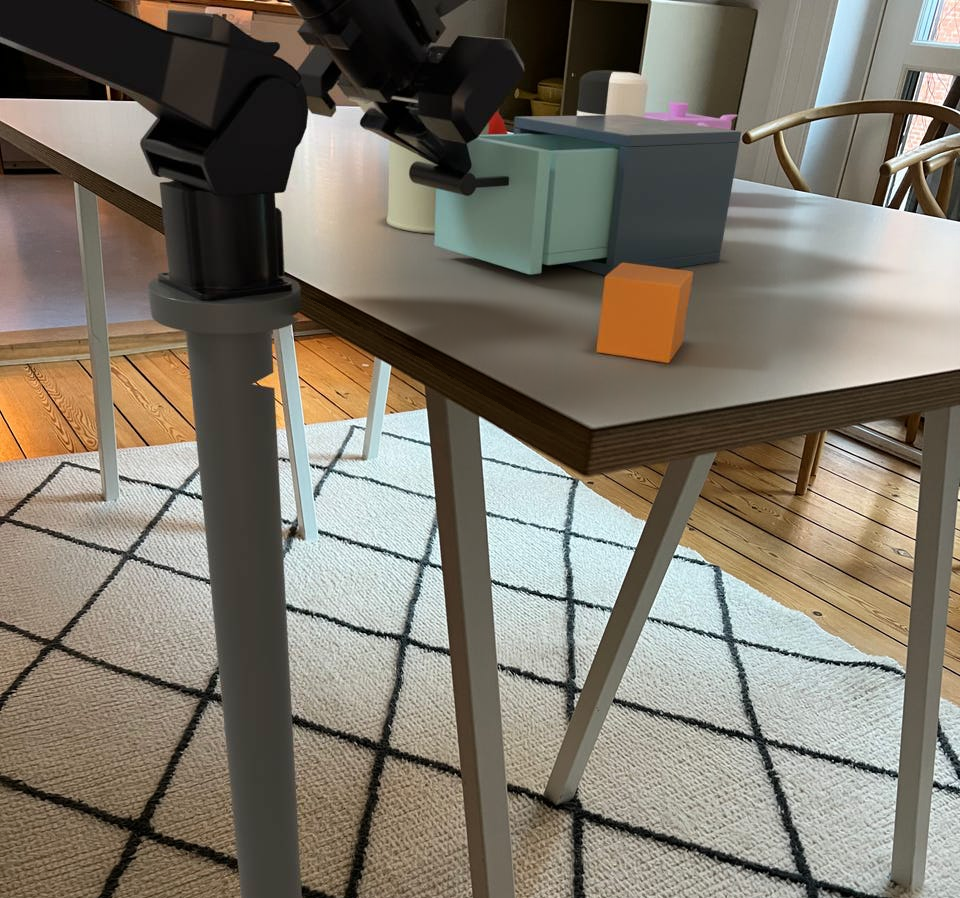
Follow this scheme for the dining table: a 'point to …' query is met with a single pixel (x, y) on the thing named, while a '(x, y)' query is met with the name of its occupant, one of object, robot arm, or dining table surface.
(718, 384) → the dining table surface
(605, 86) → the container
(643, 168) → the small storage cabinet
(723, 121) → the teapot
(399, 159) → the can
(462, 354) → the dining table surface
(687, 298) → the orange rectangular prism
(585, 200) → the drawer
